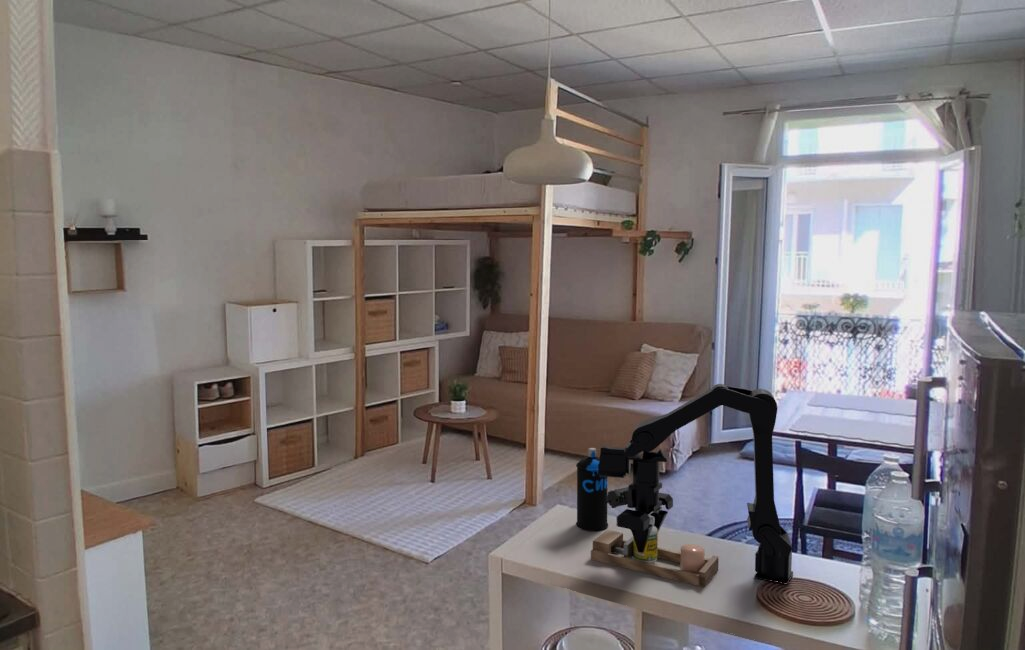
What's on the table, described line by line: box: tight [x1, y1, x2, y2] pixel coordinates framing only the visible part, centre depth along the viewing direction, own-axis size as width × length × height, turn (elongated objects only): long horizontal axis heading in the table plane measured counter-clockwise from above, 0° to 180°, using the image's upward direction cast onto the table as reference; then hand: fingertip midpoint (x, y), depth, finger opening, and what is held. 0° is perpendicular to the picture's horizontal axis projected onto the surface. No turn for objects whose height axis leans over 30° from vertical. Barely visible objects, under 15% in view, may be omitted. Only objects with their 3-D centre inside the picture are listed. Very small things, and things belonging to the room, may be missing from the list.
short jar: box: [679, 544, 706, 574], centre depth 149 cm, size 5×5×6 cm
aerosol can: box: [575, 447, 609, 532], centre depth 177 cm, size 8×8×20 cm
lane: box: [590, 529, 719, 588], centre depth 154 cm, size 26×10×4 cm, turn 57°
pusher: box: [611, 536, 634, 559], centre depth 158 cm, size 7×7×4 cm
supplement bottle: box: [632, 515, 659, 564], centre depth 154 cm, size 5×5×10 cm
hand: (645, 547), depth 155 cm, fingers closed on supplement bottle, 5 cm apart
